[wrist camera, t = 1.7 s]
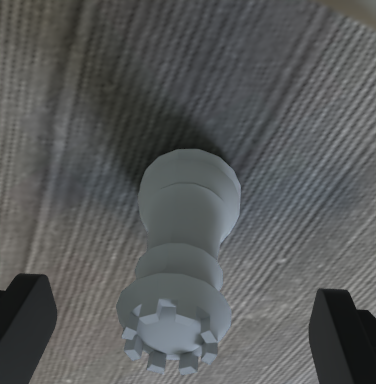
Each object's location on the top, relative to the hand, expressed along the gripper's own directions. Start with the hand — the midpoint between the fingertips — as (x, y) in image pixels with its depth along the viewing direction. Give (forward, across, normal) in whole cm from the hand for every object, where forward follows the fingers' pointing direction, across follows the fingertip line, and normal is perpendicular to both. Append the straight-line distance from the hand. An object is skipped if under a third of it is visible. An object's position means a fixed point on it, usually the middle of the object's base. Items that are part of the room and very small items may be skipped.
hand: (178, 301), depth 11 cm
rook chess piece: (+6, 0, 0) cm, 7 cm away
